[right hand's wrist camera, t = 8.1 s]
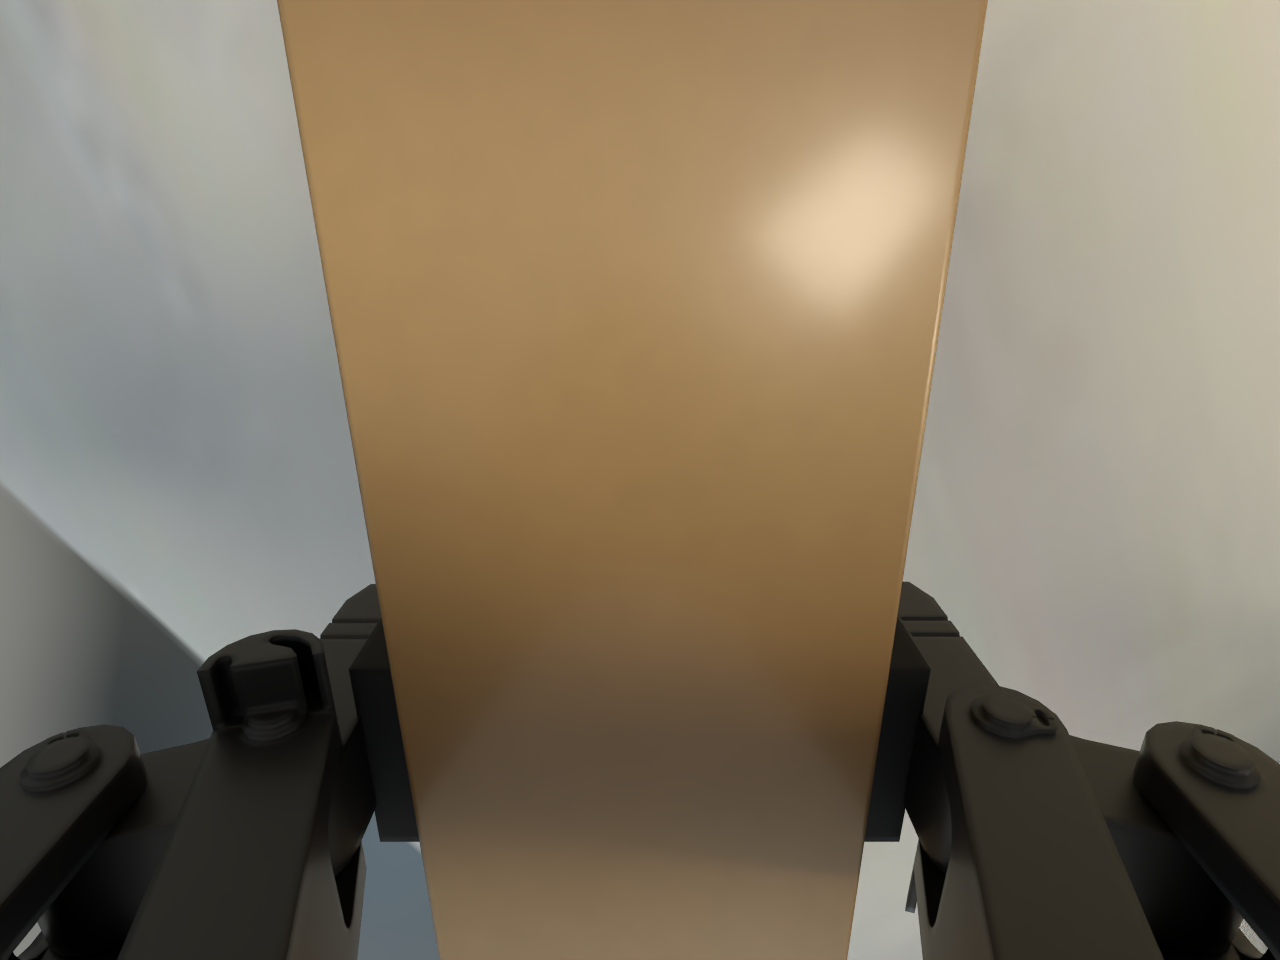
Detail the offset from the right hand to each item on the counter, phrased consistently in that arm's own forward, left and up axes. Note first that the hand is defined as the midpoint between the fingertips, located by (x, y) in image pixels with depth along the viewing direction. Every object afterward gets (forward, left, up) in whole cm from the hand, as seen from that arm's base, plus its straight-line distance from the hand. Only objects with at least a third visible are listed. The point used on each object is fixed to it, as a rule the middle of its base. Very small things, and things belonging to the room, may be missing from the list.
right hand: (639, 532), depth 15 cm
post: (+9, -27, 0) cm, 28 cm away
